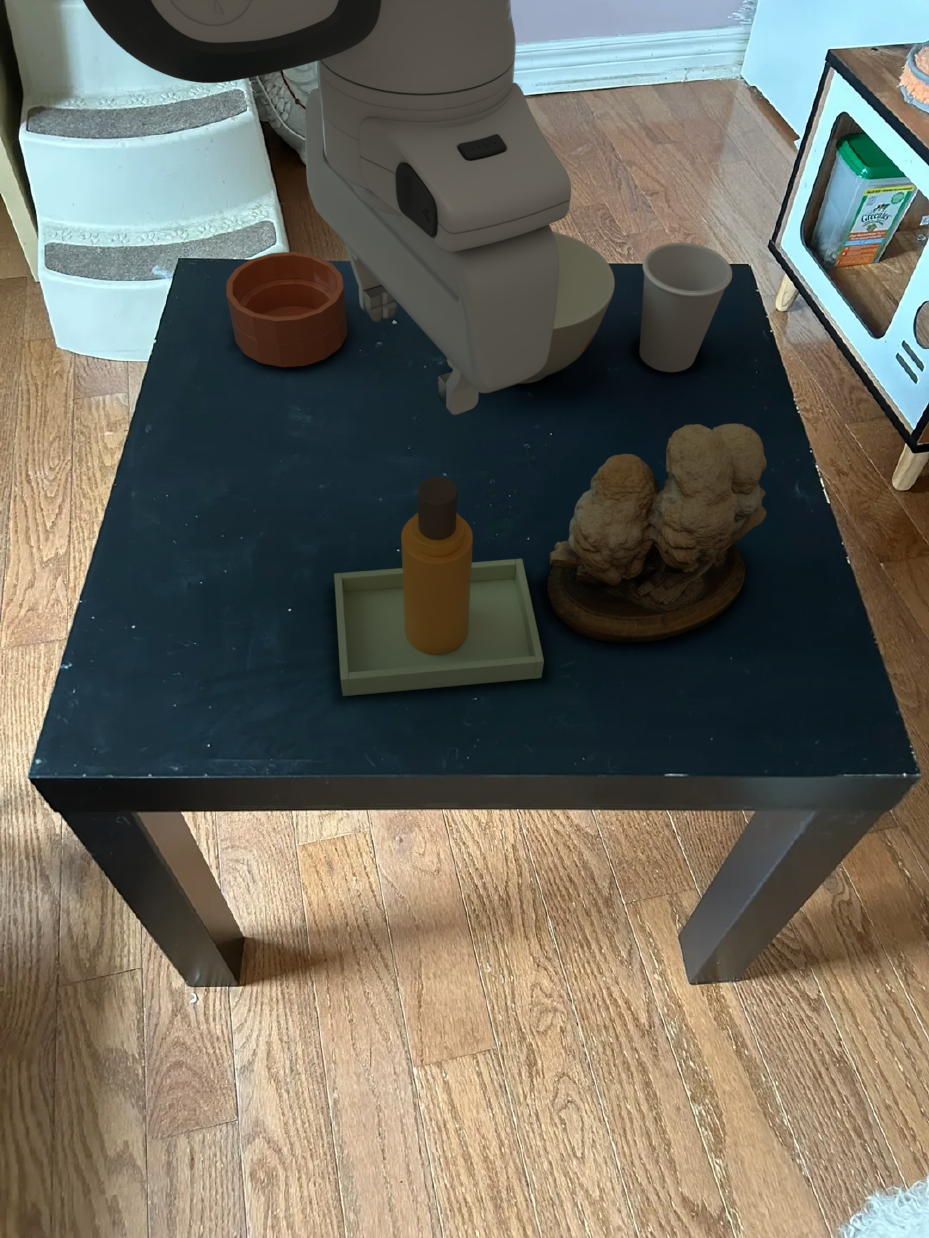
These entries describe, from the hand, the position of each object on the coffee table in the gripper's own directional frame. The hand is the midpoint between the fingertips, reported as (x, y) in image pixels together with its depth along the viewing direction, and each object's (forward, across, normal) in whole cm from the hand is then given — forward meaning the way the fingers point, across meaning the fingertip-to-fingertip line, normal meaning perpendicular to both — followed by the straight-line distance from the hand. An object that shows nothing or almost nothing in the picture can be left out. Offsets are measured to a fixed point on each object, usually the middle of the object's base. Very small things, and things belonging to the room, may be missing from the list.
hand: (416, 357), depth 56 cm
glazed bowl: (+26, -38, +7) cm, 47 cm away
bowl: (+26, -23, +25) cm, 43 cm away
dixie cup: (+26, -17, +39) cm, 50 cm away
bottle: (+26, +2, +1) cm, 26 cm away
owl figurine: (+26, +6, +19) cm, 33 cm away
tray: (+26, +2, +1) cm, 26 cm away
